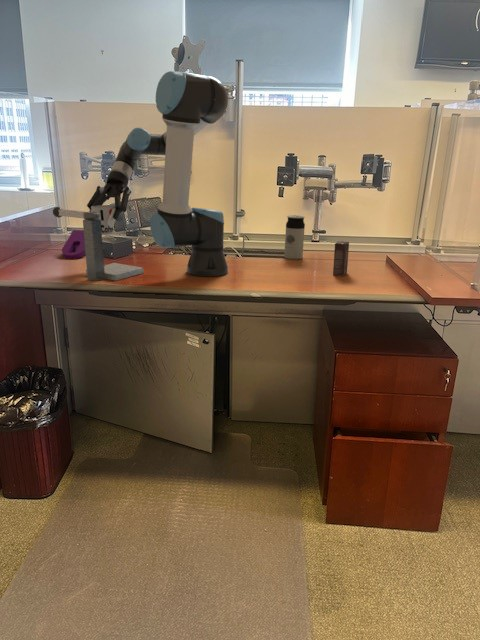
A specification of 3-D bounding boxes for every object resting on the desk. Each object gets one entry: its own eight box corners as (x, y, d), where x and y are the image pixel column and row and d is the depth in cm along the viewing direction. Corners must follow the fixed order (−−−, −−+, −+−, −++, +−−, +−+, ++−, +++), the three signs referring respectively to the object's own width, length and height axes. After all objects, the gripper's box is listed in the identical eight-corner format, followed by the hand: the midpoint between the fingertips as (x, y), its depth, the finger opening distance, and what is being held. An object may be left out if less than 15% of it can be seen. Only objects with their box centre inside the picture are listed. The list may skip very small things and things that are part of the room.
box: (335, 271, 178) (338, 240, 174) (347, 273, 176) (350, 241, 172) (331, 275, 173) (334, 242, 169) (343, 276, 171) (346, 244, 167)
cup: (99, 236, 166) (97, 207, 163) (90, 233, 172) (87, 206, 169) (120, 233, 172) (118, 206, 168) (110, 231, 177) (107, 204, 174)
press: (143, 273, 168) (141, 217, 162) (107, 283, 153) (102, 222, 147) (115, 268, 175) (111, 214, 168) (77, 277, 160) (72, 218, 153)
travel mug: (293, 255, 207) (295, 214, 202) (306, 258, 202) (309, 216, 196) (280, 257, 203) (282, 215, 197) (293, 260, 197) (296, 217, 191)
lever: (103, 221, 153) (102, 210, 152) (91, 222, 149) (90, 211, 147) (61, 216, 162) (60, 205, 161) (49, 217, 158) (48, 206, 157)
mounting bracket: (85, 272, 193) (99, 246, 206) (80, 255, 187) (94, 230, 200) (64, 271, 194) (78, 245, 206) (58, 254, 188) (73, 229, 200)
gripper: (147, 184, 177) (128, 232, 168) (100, 183, 183) (80, 229, 174) (139, 170, 170) (119, 219, 161) (91, 169, 176) (69, 217, 167)
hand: (99, 224), depth 168 cm, fingers closed on cup, 8 cm apart
